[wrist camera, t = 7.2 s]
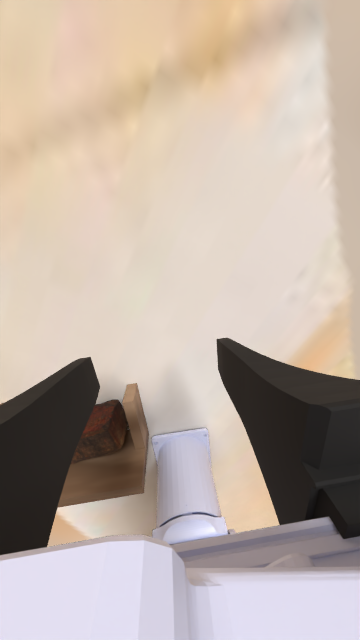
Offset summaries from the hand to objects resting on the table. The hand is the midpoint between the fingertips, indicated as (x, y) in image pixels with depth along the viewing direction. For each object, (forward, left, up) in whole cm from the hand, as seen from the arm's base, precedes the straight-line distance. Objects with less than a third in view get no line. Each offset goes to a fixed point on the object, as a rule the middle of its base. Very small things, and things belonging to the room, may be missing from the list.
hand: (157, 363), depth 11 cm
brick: (-13, +12, -11) cm, 21 cm away
